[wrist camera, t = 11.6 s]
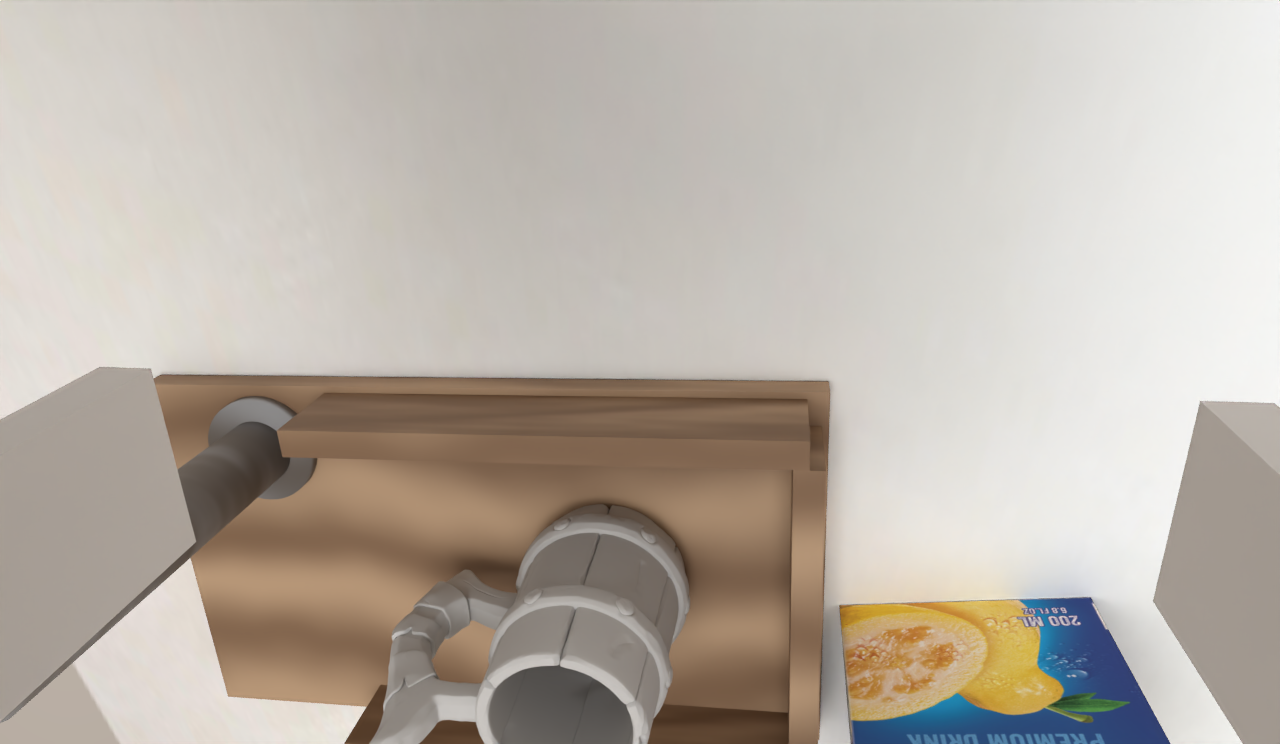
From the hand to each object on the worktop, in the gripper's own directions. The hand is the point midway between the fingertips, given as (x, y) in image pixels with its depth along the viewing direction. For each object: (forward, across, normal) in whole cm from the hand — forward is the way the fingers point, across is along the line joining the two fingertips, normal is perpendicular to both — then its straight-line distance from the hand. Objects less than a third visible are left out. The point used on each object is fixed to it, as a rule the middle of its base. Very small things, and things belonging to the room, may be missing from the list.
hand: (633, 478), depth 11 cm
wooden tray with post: (+24, -11, -18) cm, 33 cm away
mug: (+24, -7, -18) cm, 31 cm away
